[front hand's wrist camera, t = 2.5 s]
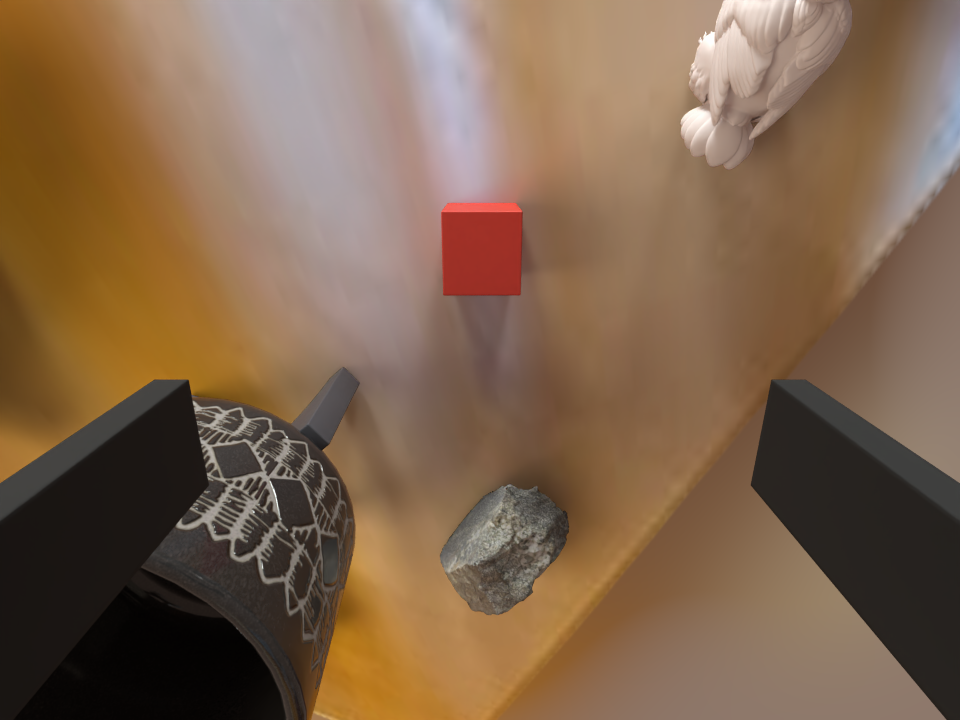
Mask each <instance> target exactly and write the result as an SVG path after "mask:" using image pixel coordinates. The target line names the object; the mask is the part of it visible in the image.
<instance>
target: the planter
mask: <svg viewBox="0 0 960 720" xmlns="http://www.w3.org/2000/svg"><path fill="white" fill-rule="evenodd" d="M358 385H359V382H358V381H357V380H356V379H355V378H354V377H353V376H352V375H351V374H350V373H349V372H348V371H347V370H346V369H345V368H344V367H343V368H341V369H340V370H339V371H338V372H337V373H336V374H334V375H333V376H332V377H331V378H330V379H329V380H328V382H327V383H326V384H325V385H324V387H323V388H322V389H321V391H320V392H319V393H318V394H317V396H316V397H315V398H314V399H313V400H312V401H311V403H310V404H309V405H308V406H307V407H306V408H305V409H304V411H303V412H302V413H301V414H300V415H299V416H298V417H297V418H296V419H295V420H294V421H293V423H292V424H290V423H288V422H286V421H285V420H283V419H281V418H279V417H277V416H275V415H273V414H272V413H270V412H267V411H264V410H262V409H259V408H256V407H254V406H251V405H248V404H244V403H240V402H235V401H231V400H227V399H217V398H206V397H197V396H193V395H192V400H193V405H194V410H195V415H196V421H197V426H198V431H199V436H200V441H201V446H202V451H203V456H204V461H205V466H206V471H207V476H208V482H209V486H208V487H207V489H206V490H205V491H204V492H203V493H202V494H201V496H200V497H199V498H198V499H197V500H196V502H195V503H194V504H193V505H192V506H191V508H190V509H189V510H188V511H187V512H186V514H185V515H184V516H183V517H182V518H181V520H180V521H179V522H178V523H177V524H176V526H175V527H174V528H173V529H172V530H171V532H170V533H169V534H168V535H167V536H166V538H165V539H164V540H163V541H162V542H161V544H160V545H159V546H158V547H157V548H156V550H155V551H154V552H153V553H152V554H151V556H150V557H149V558H148V559H147V560H146V562H145V563H144V564H143V565H142V566H141V568H140V569H139V570H138V571H137V572H136V574H135V575H134V576H133V577H132V578H131V579H130V581H129V582H128V583H127V584H126V585H125V587H124V588H123V589H122V590H121V591H120V593H119V594H118V595H117V596H116V597H115V599H114V600H113V601H112V602H111V603H110V605H109V606H108V607H107V608H106V609H105V611H104V612H103V613H102V614H101V615H100V617H99V618H98V619H97V620H96V621H95V623H94V624H93V625H92V626H91V627H90V629H89V630H88V631H87V632H86V633H85V635H84V636H83V637H82V638H81V639H80V641H79V642H78V643H77V644H76V645H75V647H74V648H73V649H72V650H71V651H70V653H69V654H68V655H67V656H66V657H65V659H64V660H63V661H62V662H61V663H60V664H59V666H58V667H57V668H56V669H55V670H54V672H53V673H52V674H51V675H50V676H49V678H48V679H47V680H46V681H45V682H44V684H43V685H42V686H41V687H40V688H39V690H38V691H37V692H36V693H35V694H34V696H33V697H32V698H31V699H30V700H29V702H28V703H27V704H26V705H25V706H24V708H23V709H22V710H21V711H20V712H19V714H18V715H17V716H16V717H15V718H14V720H311V718H312V714H313V710H314V707H315V703H316V699H317V695H318V691H319V687H320V683H321V679H322V675H323V671H324V667H325V663H326V659H327V655H328V651H329V647H330V643H331V639H332V636H333V632H334V628H335V624H336V620H337V616H338V612H339V608H340V604H341V600H342V596H343V592H344V588H345V584H346V580H347V576H348V572H349V568H350V565H351V560H352V556H353V551H354V547H355V519H354V513H353V506H352V502H351V499H350V497H349V494H348V491H347V488H346V486H345V484H344V482H343V480H342V478H341V476H340V475H339V473H338V471H337V469H336V467H335V466H334V465H333V463H332V462H331V461H330V460H329V458H328V457H327V456H326V454H325V453H324V452H323V451H322V450H323V449H324V448H325V447H326V446H328V445H329V444H330V442H331V440H332V438H333V436H334V434H335V432H336V430H337V428H338V426H339V423H340V421H341V419H342V417H343V415H344V413H345V411H346V409H347V407H348V405H349V403H350V401H351V399H352V397H353V395H354V393H355V391H356V389H357V387H358Z"/></svg>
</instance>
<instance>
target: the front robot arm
mask: <svg viewBox="0 0 960 720" xmlns="http://www.w3.org/2000/svg"><path fill="white" fill-rule="evenodd" d="M208 486H209V482H208V476H207V471H206V466H205V461H204V456H203V451H202V446H201V441H200V436H199V431H198V426H197V421H196V415H195V410H194V405H193V400H192V395H191V390H190V385H189V380H153V381H152V382H150V383H149V384H147V385H146V386H144V387H143V388H141V389H140V390H138V391H137V392H135V393H134V394H133V395H131V396H130V397H128V398H127V399H125V400H124V401H122V402H121V403H119V404H118V405H116V406H115V407H113V408H112V409H110V410H109V411H107V412H106V413H104V414H103V415H101V416H100V417H98V418H97V419H95V420H94V421H92V422H91V423H89V424H88V425H86V426H85V427H83V428H82V429H80V430H79V431H77V432H76V433H74V434H73V435H71V436H70V437H68V438H67V439H66V440H64V441H63V442H61V443H60V444H58V445H57V446H55V447H54V448H52V449H51V450H49V451H48V452H46V453H45V454H43V455H42V456H40V457H39V458H37V459H36V460H34V461H33V462H31V463H30V464H28V465H27V466H25V467H24V468H22V469H21V470H19V471H18V472H16V473H15V474H13V475H12V476H10V477H9V478H7V479H6V480H4V481H3V482H1V483H0V720H14V718H15V717H16V716H17V715H18V714H19V712H20V711H21V710H22V709H23V708H24V706H25V705H26V704H27V703H28V702H29V700H30V699H31V698H32V697H33V696H34V694H35V693H36V692H37V691H38V690H39V688H40V687H41V686H42V685H43V684H44V682H45V681H46V680H47V679H48V678H49V676H50V675H51V674H52V673H53V672H54V670H55V669H56V668H57V667H58V666H59V664H60V663H61V662H62V661H63V660H64V659H65V657H66V656H67V655H68V654H69V653H70V651H71V650H72V649H73V648H74V647H75V645H76V644H77V643H78V642H79V641H80V639H81V638H82V637H83V636H84V635H85V633H86V632H87V631H88V630H89V629H90V627H91V626H92V625H93V624H94V623H95V621H96V620H97V619H98V618H99V617H100V615H101V614H102V613H103V612H104V611H105V609H106V608H107V607H108V606H109V605H110V603H111V602H112V601H113V600H114V599H115V597H116V596H117V595H118V594H119V593H120V591H121V590H122V589H123V588H124V587H125V585H126V584H127V583H128V582H129V581H130V579H131V578H132V577H133V576H134V575H135V574H136V572H137V571H138V570H139V569H140V568H141V566H142V565H143V564H144V563H145V562H146V560H147V559H148V558H149V557H150V556H151V554H152V553H153V552H154V551H155V550H156V548H157V547H158V546H159V545H160V544H161V542H162V541H163V540H164V539H165V538H166V536H167V535H168V534H169V533H170V532H171V530H172V529H173V528H174V527H175V526H176V524H177V523H178V522H179V521H180V520H181V518H182V517H183V516H184V515H185V514H186V512H187V511H188V510H189V509H190V508H191V506H192V505H193V504H194V503H195V502H196V500H197V499H198V498H199V497H200V496H201V494H202V493H203V492H204V491H205V490H206V489H207V487H208ZM751 486H752V487H753V489H754V490H755V491H756V492H757V493H758V494H759V496H760V497H761V498H762V499H763V500H764V502H765V503H766V504H767V505H768V506H769V508H770V509H771V510H772V511H773V512H774V514H775V515H776V516H777V517H778V518H779V520H780V521H781V522H782V523H783V524H784V526H785V527H786V528H787V529H788V530H789V532H790V533H791V534H792V535H793V536H794V538H795V539H796V540H797V541H798V542H799V544H800V545H801V546H802V547H803V548H804V550H805V551H806V552H807V553H808V554H809V556H810V557H811V558H812V559H813V560H814V561H815V563H816V564H817V565H818V566H819V568H820V569H821V570H822V571H823V572H824V574H825V575H826V576H827V577H828V578H829V579H830V581H831V582H832V583H833V584H834V585H835V587H836V588H837V589H838V590H839V591H840V593H841V594H842V595H843V596H844V597H845V599H846V600H847V601H848V602H849V603H850V605H851V606H852V607H853V608H854V609H855V611H856V612H857V613H858V614H859V615H860V617H861V618H862V619H863V620H864V621H865V622H866V624H867V625H868V626H869V627H870V629H871V630H872V631H873V632H874V633H875V635H876V636H877V637H878V638H879V639H880V641H881V642H882V643H883V644H884V645H885V647H886V648H887V649H888V650H889V651H890V653H891V654H892V655H893V656H894V657H895V658H896V660H897V661H898V662H899V663H900V664H901V666H902V667H903V668H904V669H905V670H906V672H907V673H908V674H909V675H910V676H911V678H912V679H913V680H914V681H915V682H916V684H917V685H918V686H919V687H920V688H921V690H922V691H923V692H924V693H925V694H926V696H927V697H928V698H929V699H930V700H931V702H932V703H933V704H934V705H935V706H936V708H937V709H938V710H939V711H940V712H941V714H942V715H943V716H944V717H945V718H946V720H960V483H959V482H957V481H956V480H954V479H953V478H951V477H950V476H948V475H947V474H945V473H944V472H942V471H941V470H939V469H938V468H936V467H935V466H933V465H932V464H930V463H929V462H927V461H926V460H924V459H923V458H921V457H920V456H918V455H917V454H915V453H914V452H912V451H911V450H909V449H908V448H906V447H905V446H903V445H902V444H900V443H899V442H897V441H896V440H894V439H893V438H892V437H890V436H889V435H887V434H886V433H884V432H883V431H881V430H880V429H878V428H877V427H875V426H874V425H872V424H871V423H869V422H868V421H866V420H865V419H863V418H862V417H860V416H859V415H857V414H856V413H854V412H853V411H851V410H850V409H848V408H847V407H845V406H844V405H842V404H841V403H839V402H838V401H836V400H835V399H833V398H832V397H830V396H829V395H827V394H826V393H825V392H823V391H822V390H820V389H819V388H817V387H816V386H814V385H812V384H811V383H810V382H808V381H807V380H771V385H770V390H769V395H768V400H767V405H766V410H765V415H764V421H763V426H762V431H761V436H760V441H759V446H758V451H757V456H756V461H755V466H754V471H753V476H752V482H751Z"/></svg>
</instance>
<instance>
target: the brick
mask: <svg viewBox="0 0 960 720" xmlns="http://www.w3.org/2000/svg"><path fill="white" fill-rule="evenodd" d="M522 214H523V212H522V211H521V209H520V208H519V207H518V206H517V204H516V203H448V204H447V205H446V206H445V208H444V209H443V210H442V212H441V222H442V262H443V295H520V294H521V255H522Z"/></svg>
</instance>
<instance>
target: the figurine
mask: <svg viewBox="0 0 960 720" xmlns="http://www.w3.org/2000/svg"><path fill="white" fill-rule="evenodd" d="M851 24H852V9H851V5H850V2H849V0H723V4H722V8H721V10H720V13H719V15H718V18H717V22H716V27H715V32H714V33H712V31H711V34H709V35H708V36H707V34H706V32H705V35H704V36H703V41H702V40H701V38H700V40H699V47H698V49H697V52H696V57H695V61H694V63H693V64H692V65H691V70H690V74H689V77H691V79H690V82H689V87H690V89H691V91H693V94H694V95H695V96H696V97H697V99H698V100H699V101H701V102H702V106H699V107H697V108H695V109H693V110H691V111H689V112H688V113H687V114H685V115H684V116H683V118H682V120H681V123H680V124H681V126H682V128H681V137H682V138H683V139H684V142H685V146H686V147H687V148H688V149H690V151H691V154H692V156H693V157H700V156H704V155H706V160H707V163H708V164H709V166H711V167H716V166H719V165H722V164H723V165H724V167H725V169H727V170H730V169H733V168H735V167H736V166H738V165H739V164H740V163H741V162H742V161H743V160H744V159H745V158H747V156H748V155H749V154H750V152H751V150H752V148H753V145H754V138H755V137H757V136H759V135H760V134H761V133H763V132H764V131H766V130H767V129H768V128H769V127H770V126H772V125H773V124H774V123H775V122H776V121H777V120H778V119H779V118H780V117H782V116H783V115H784V114H785V113H786V112H787V111H788V110H789V109H790V108H791V107H792V106H793V105H794V104H795V103H796V102H797V101H798V100H799V99H800V98H801V97H802V95H803V94H804V93H805V92H806V91H807V90H808V88H809V87H810V86H811V85H812V83H813V82H814V81H815V80H816V79H817V78H818V77H819V76H821V75H822V74H823V73H824V72H825V71H826V70H827V69H828V67H829V66H830V65H831V64H832V63H833V62H834V60H835V58H836V57H837V56H838V54H839V52H840V50H841V49H842V47H843V45H844V43H845V41H846V39H847V37H848V36H849V33H850V30H851ZM754 122H758V124H757V125H756V126H755V128H754V129H753V126H752V124H751V123H754Z"/></svg>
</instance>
